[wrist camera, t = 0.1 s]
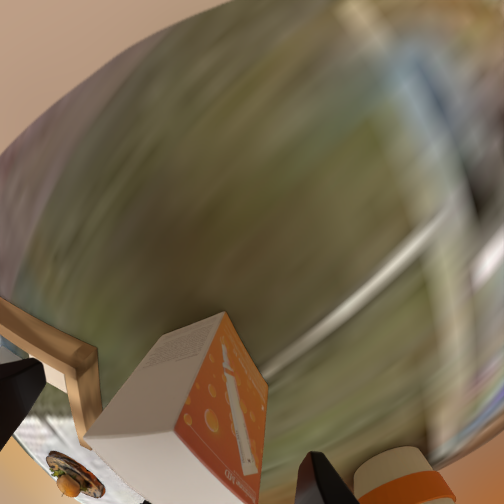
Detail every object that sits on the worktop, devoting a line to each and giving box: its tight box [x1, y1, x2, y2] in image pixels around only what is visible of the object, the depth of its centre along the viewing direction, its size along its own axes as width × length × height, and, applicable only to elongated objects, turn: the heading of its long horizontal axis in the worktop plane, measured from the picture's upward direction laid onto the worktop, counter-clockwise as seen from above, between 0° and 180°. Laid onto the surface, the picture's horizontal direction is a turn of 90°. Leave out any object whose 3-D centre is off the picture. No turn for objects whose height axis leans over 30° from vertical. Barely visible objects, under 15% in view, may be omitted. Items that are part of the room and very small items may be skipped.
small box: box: [83, 311, 268, 504], centre depth 17 cm, size 8×6×13 cm
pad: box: [29, 354, 68, 393], centre depth 26 cm, size 6×6×1 cm
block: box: [0, 346, 22, 364], centre depth 24 cm, size 4×6×5 cm, turn 77°
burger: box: [46, 451, 105, 498], centre depth 28 cm, size 12×12×8 cm
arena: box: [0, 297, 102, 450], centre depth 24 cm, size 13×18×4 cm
